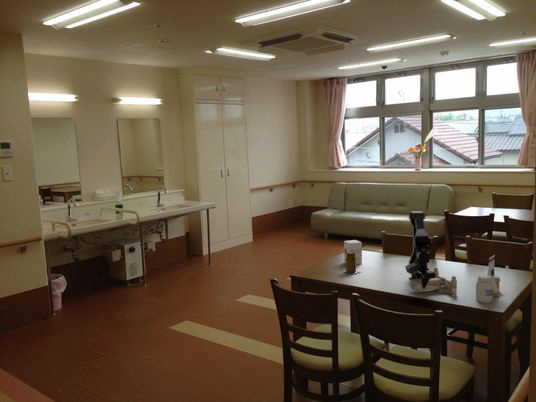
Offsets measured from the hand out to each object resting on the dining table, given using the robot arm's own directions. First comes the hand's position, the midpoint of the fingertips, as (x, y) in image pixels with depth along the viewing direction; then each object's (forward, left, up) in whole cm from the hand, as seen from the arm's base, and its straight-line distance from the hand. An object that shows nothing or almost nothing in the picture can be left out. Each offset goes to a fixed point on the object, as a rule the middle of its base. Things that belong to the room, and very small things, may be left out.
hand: (421, 287), depth 245 cm
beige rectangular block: (0, +2, -1) cm, 3 cm away
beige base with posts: (0, +12, -2) cm, 12 cm away
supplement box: (-68, -14, -3) cm, 69 cm away
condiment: (-47, -22, -3) cm, 52 cm away
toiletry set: (+15, +29, -3) cm, 33 cm away
